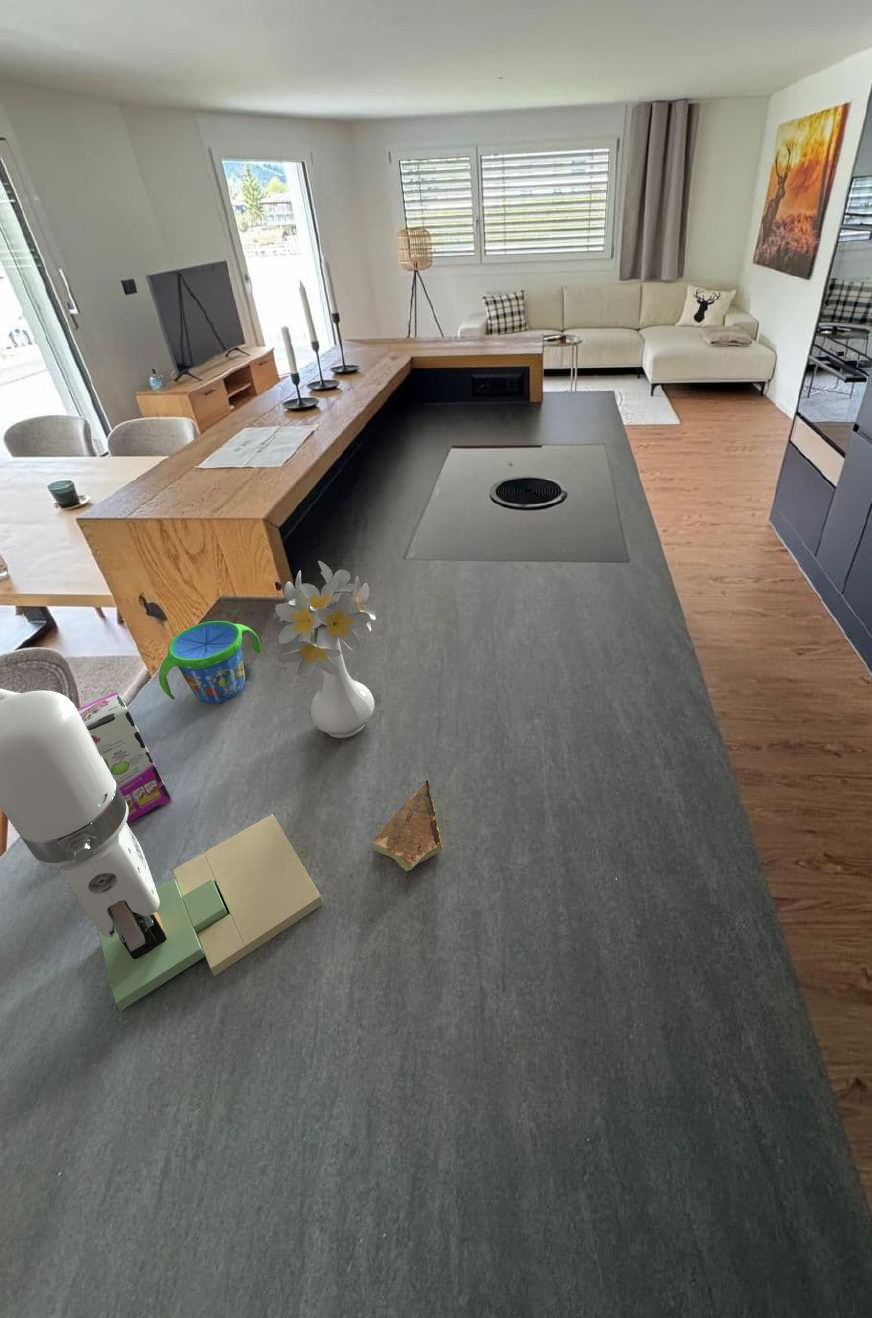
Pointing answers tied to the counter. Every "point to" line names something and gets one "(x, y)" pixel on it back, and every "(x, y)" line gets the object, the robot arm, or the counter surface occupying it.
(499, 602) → the counter surface
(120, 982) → the green pad
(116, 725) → the candy bar box
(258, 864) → the cream pad
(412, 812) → the shard
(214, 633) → the snack cup
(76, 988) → the counter surface
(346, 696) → the flower vase
